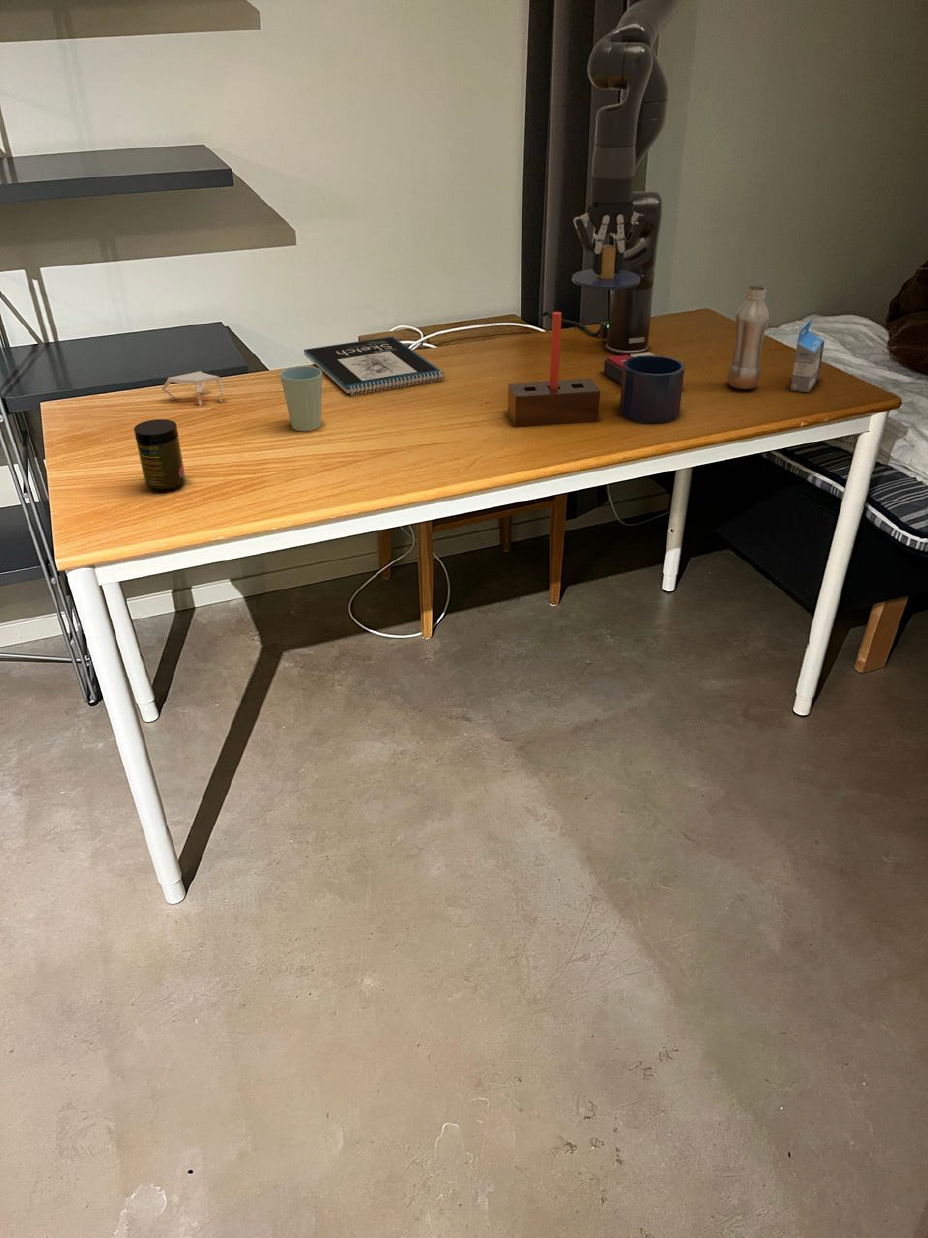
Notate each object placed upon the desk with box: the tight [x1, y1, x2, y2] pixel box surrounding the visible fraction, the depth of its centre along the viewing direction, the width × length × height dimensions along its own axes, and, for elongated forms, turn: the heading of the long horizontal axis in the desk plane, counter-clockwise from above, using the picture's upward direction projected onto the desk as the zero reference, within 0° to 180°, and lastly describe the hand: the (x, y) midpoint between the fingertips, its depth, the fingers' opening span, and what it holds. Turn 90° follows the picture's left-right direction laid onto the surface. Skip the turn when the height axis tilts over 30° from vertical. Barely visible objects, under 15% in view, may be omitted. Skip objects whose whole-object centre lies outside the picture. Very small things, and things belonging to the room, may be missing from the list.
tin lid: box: [571, 244, 640, 291], centre depth 184 cm, size 13×13×7 cm
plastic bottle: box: [727, 285, 770, 390], centre depth 198 cm, size 6×7×20 cm
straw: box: [549, 311, 562, 390], centre depth 185 cm, size 2×2×20 cm
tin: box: [618, 354, 686, 425], centre depth 190 cm, size 11×11×10 cm
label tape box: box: [790, 318, 825, 393], centre depth 201 cm, size 9×4×12 cm, turn 150°
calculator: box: [603, 351, 684, 389], centre depth 206 cm, size 11×4×15 cm
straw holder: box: [507, 378, 601, 428], centre depth 189 cm, size 7×16×6 cm, turn 99°
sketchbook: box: [303, 336, 445, 396], centre depth 215 cm, size 22×30×2 cm
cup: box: [279, 365, 323, 432], centre depth 185 cm, size 8×8×10 cm
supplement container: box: [133, 418, 187, 493], centre depth 164 cm, size 7×7×10 cm
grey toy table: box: [161, 370, 226, 406], centre depth 199 cm, size 12×8×5 cm
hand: (606, 272), depth 184 cm, fingers closed on tin lid, 3 cm apart
